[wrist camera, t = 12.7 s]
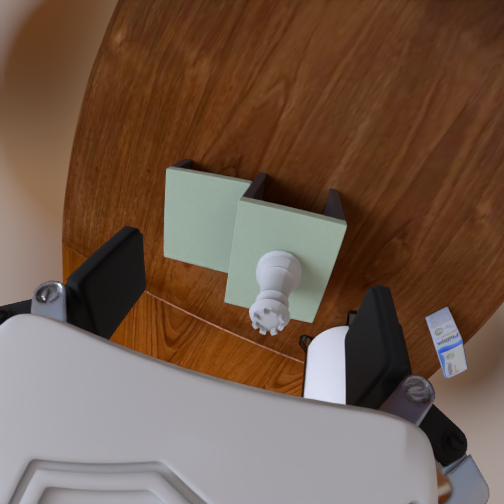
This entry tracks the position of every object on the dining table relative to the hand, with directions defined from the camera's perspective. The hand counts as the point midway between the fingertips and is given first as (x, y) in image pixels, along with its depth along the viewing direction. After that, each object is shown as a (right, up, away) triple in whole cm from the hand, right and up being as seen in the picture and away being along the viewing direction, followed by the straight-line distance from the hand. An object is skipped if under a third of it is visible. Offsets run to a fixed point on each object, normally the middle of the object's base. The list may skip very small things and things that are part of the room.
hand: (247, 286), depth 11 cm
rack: (0, +6, +27) cm, 28 cm away
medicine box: (+32, -11, +30) cm, 45 cm away
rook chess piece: (+3, 0, +17) cm, 18 cm away
